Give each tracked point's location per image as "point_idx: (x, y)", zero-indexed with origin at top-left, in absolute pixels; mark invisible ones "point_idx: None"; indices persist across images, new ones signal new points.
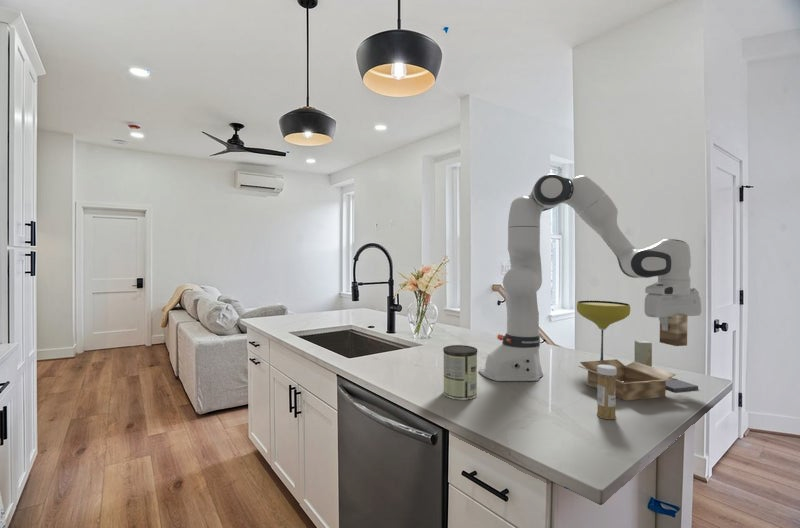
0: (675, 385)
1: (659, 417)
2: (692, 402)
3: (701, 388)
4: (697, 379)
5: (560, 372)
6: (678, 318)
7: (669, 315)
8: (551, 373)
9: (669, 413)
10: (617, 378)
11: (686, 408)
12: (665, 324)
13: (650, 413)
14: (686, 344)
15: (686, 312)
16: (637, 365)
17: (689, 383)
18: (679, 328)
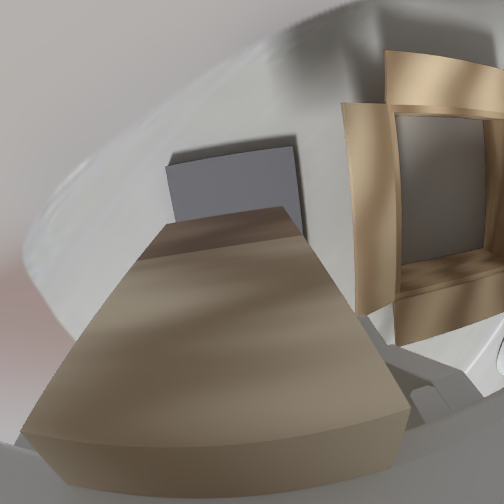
0: (254, 180)
1: (469, 10)
2: (313, 45)
3: (147, 174)
4: (88, 273)
5: (466, 351)
6: (316, 362)
7: (475, 420)
8: (487, 341)
9: (437, 13)
10: (411, 269)
11: (372, 16)
12: (402, 357)
13: (475, 32)
14: (171, 224)
15: (9, 493)
16: (374, 279)
17: (174, 199)
18: (258, 268)
